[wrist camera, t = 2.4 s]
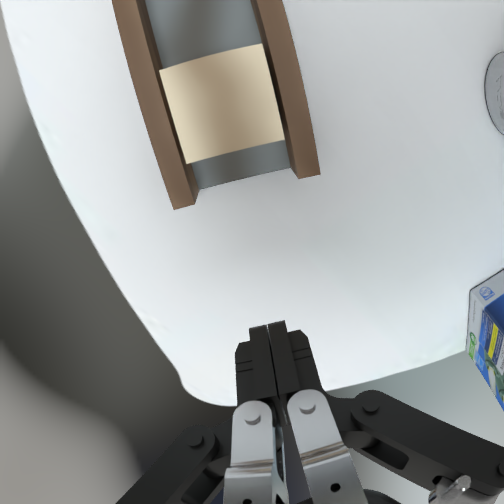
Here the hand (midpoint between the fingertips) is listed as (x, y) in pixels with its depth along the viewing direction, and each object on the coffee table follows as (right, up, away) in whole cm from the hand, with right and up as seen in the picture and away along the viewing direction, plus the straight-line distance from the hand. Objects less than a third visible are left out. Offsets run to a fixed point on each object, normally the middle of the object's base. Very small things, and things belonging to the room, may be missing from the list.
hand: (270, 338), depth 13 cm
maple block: (-3, +14, +7) cm, 16 cm away
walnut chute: (-4, +19, +5) cm, 20 cm away
